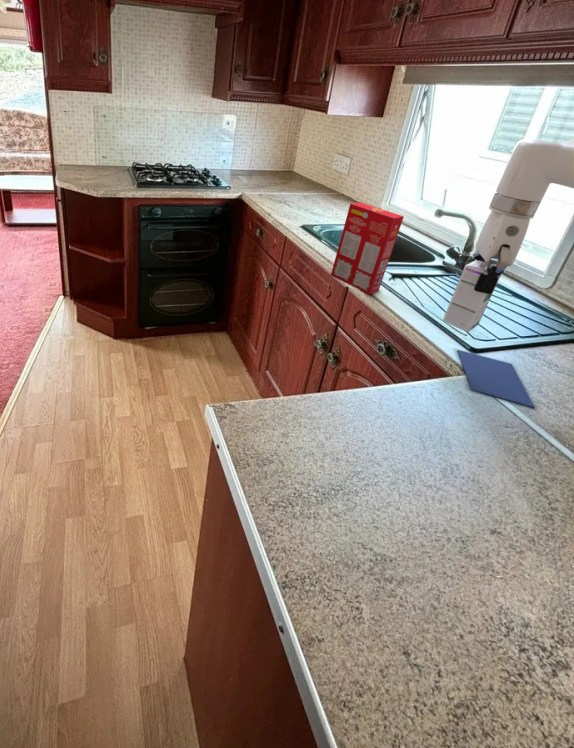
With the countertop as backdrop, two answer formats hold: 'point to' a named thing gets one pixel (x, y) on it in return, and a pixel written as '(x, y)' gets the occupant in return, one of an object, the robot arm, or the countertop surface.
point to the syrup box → (468, 299)
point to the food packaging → (366, 246)
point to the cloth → (494, 378)
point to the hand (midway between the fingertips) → (477, 283)
